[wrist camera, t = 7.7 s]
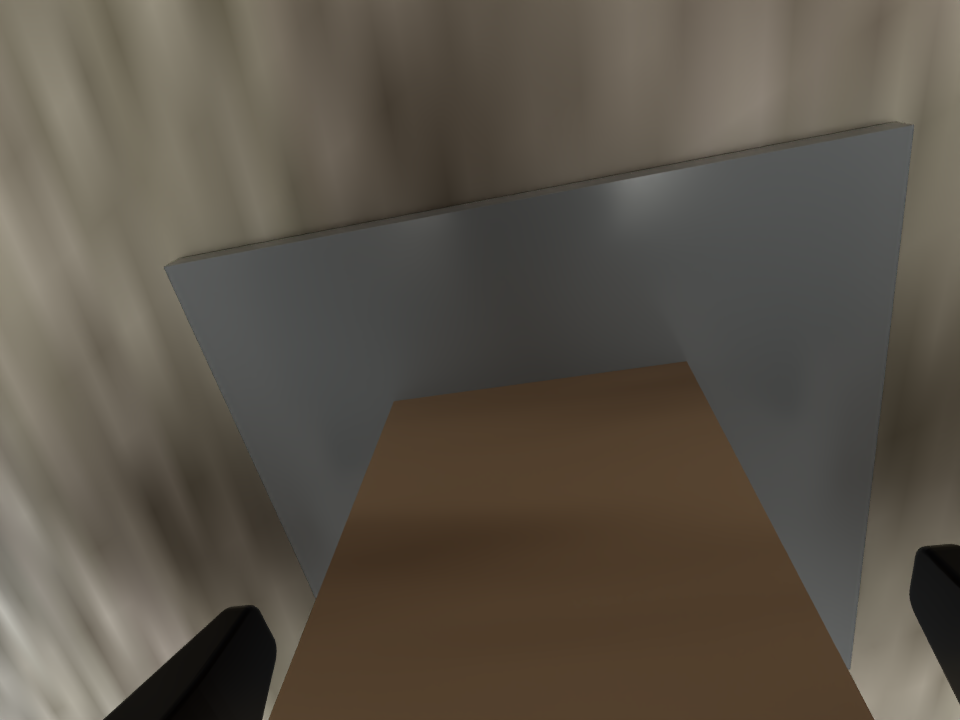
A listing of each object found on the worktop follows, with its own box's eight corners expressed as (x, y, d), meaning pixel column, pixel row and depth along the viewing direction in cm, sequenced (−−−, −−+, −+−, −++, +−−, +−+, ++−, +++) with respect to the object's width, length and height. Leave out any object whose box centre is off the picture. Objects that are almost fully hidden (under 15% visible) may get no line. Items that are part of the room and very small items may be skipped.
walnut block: (696, 580, 11) (868, 1110, 5) (454, 600, 11) (389, 1086, 6) (687, 361, 9) (943, 852, 3) (393, 401, 9) (212, 860, 4)
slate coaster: (840, 650, 12) (850, 669, 11) (365, 680, 13) (361, 697, 13) (896, 121, 7) (914, 124, 7) (177, 258, 9) (163, 267, 9)
